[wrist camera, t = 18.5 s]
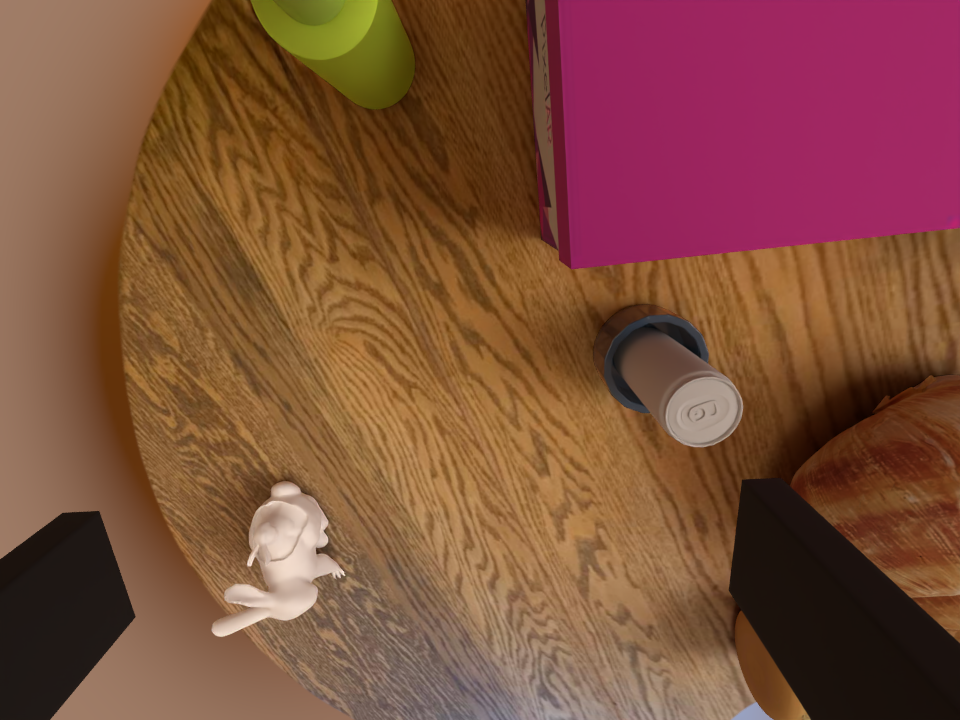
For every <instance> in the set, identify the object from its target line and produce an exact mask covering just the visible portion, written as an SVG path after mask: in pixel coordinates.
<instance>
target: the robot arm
mask: <svg viewBox="0 0 960 720" xmlns="http://www.w3.org/2000/svg"><path fill="white" fill-rule="evenodd" d="M729 592H730V593H731V595H732V596H733V598H734V600H735V601H736V603H737V604H738V606H739V607H740V609H741V611H742V612H743V614H744V615H745V617H746V618H747V620H748V622H749V623H750V625H751V626H752V628H753V629H754V631H755V633H756V634H757V636H758V637H759V639H760V640H761V642H762V644H763V645H764V647H765V648H766V650H767V651H768V653H769V654H770V656H771V658H772V659H773V661H774V662H775V664H776V665H777V667H778V669H779V670H780V672H781V673H782V675H783V676H784V678H785V680H786V681H787V683H788V684H789V686H790V687H791V689H792V691H793V692H794V694H795V695H796V697H797V698H798V700H799V702H800V703H801V705H802V706H803V708H804V709H805V711H806V713H807V714H808V716H809V717H810V719H811V720H960V643H959V642H958V641H957V640H956V639H955V638H954V637H953V636H952V635H951V634H950V633H948V632H947V631H946V630H945V629H944V628H943V627H942V626H941V625H940V624H939V623H938V622H937V621H935V620H934V619H933V618H932V617H931V616H930V615H929V614H928V613H927V612H926V611H925V610H923V609H922V608H921V607H920V606H919V605H918V604H917V603H916V602H915V601H914V600H913V599H912V598H910V597H909V596H908V595H907V594H906V593H905V592H904V591H903V590H902V589H901V588H900V587H899V586H897V585H896V584H895V583H894V582H893V581H892V580H891V579H890V578H889V577H888V576H887V575H886V574H884V573H883V572H882V571H881V570H880V569H879V568H878V567H877V566H876V565H875V564H874V563H873V562H871V561H870V560H869V559H868V558H867V557H866V556H865V555H864V554H863V553H862V552H861V551H860V550H858V549H857V548H856V547H855V546H854V545H853V544H852V543H851V542H850V541H849V540H848V539H846V538H845V537H844V536H843V535H842V534H841V533H840V532H839V531H838V530H837V529H836V528H835V527H833V526H832V525H831V524H830V523H829V522H828V521H827V520H826V519H825V518H824V517H823V516H822V515H820V514H819V513H818V512H817V511H816V510H815V509H814V508H813V507H812V506H811V505H810V504H809V503H807V502H806V501H805V500H804V499H803V498H802V497H801V496H800V495H799V494H798V493H797V492H796V491H794V490H793V489H792V488H791V487H790V486H789V485H788V484H787V483H786V482H785V481H784V480H783V479H781V478H767V479H746V480H742V485H741V493H740V502H739V510H738V518H737V527H736V535H735V543H734V552H733V560H732V568H731V576H730V585H729ZM134 618H135V614H134V611H133V608H132V605H131V602H130V599H129V596H128V593H127V590H126V588H125V585H124V582H123V579H122V576H121V573H120V570H119V567H118V564H117V561H116V558H115V556H114V553H113V550H112V547H111V544H110V541H109V538H108V535H107V532H106V529H105V527H104V523H103V521H102V518H101V515H100V512H99V511H91V512H72V513H62V514H61V515H59V516H58V517H57V518H55V519H54V520H53V521H51V522H50V523H48V524H47V525H46V526H44V527H43V528H42V529H40V530H39V531H38V532H36V533H35V534H34V535H32V536H31V537H30V538H28V539H27V540H26V541H24V542H23V543H22V544H20V545H19V546H18V547H16V548H15V549H14V550H12V551H11V552H9V553H8V554H7V555H6V556H4V557H3V558H1V559H0V720H50V719H51V718H52V717H53V716H54V714H55V713H56V712H57V711H58V710H59V708H60V707H61V706H62V705H63V704H64V702H65V701H66V700H67V699H68V698H69V696H70V695H71V694H72V693H73V692H74V690H75V689H76V688H77V687H78V686H79V684H80V683H81V682H82V681H83V679H84V678H85V677H86V676H87V675H88V674H89V672H90V671H91V670H92V669H93V668H94V666H95V665H96V664H97V663H98V662H99V660H100V659H101V658H102V657H103V656H104V654H105V653H106V652H107V651H108V649H109V648H110V647H111V646H112V645H113V643H114V642H115V641H116V640H117V639H118V637H119V636H120V635H121V634H122V633H123V631H124V630H125V629H126V628H127V626H128V625H129V624H130V623H131V622H132V621H133V619H134Z"/></svg>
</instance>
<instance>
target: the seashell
mask: <svg viewBox="0 0 960 720" xmlns="http://www.w3.org/2000/svg"><path fill="white" fill-rule="evenodd" d="M872 412H873V413H876V414H875V415H873V416H871V417H869V418H867V419H864V420H862V421H861V422H859V423H857V424H856V425H854V426H852V427H851V428H849V429H847V430H845V431H844V432H842V433H840V434H839V435H837V436H836V437H834V438H833V439H831V440H830V441H829V442H827V443H826V444H825V445H824V446H823V447H822V448H821V449H819V450H818V451H817V452H816V453H815V454H814V455H813V456H811V457H810V458H809V459H808V460H807V461H806V462H805V463H804V464H803V465H802V466H801V467H800V468H799V469H798V471H797V472H796V473H795V475H794V477H793V479H792V482H791V484H790V487H791V488H792V489H793V490H794V491H796V492H797V493H798V494H799V495H800V496H801V497H802V498H803V499H804V500H805V501H806V502H807V503H809V504H810V505H811V506H812V507H813V508H814V509H815V510H816V511H817V512H818V513H819V514H820V515H822V516H823V517H824V518H825V519H826V520H827V521H828V522H829V523H830V524H831V525H832V526H833V527H835V528H836V529H837V530H838V531H839V532H840V533H841V534H842V535H843V536H844V537H845V538H846V539H848V540H849V541H850V542H851V543H852V544H853V545H854V546H855V547H856V548H857V549H858V550H860V551H861V552H862V553H863V554H864V555H865V556H866V557H867V558H868V559H869V560H870V561H871V562H873V563H874V564H875V565H876V566H877V567H878V568H879V569H880V570H881V571H882V572H883V573H884V574H886V575H887V576H888V577H889V578H890V579H891V580H892V581H893V582H894V583H895V584H896V585H897V586H899V587H900V588H901V589H902V590H903V591H904V592H905V593H906V594H907V595H908V596H909V597H910V598H912V599H913V600H914V601H915V602H916V603H917V604H918V605H919V606H920V607H921V608H922V609H923V610H925V611H926V612H927V613H928V614H929V615H930V616H931V617H932V618H933V619H934V620H935V621H937V622H938V623H939V624H940V625H941V626H942V627H943V628H944V629H945V630H946V631H947V632H948V633H950V634H951V635H952V636H953V637H954V638H955V639H956V640H957V641H958V642H959V643H960V375H944V376H938V377H933V376H932V375H930V376H929V377H927V378H926V379H925V380H924V381H923V382H922V383H920V384H919V385H917V386H916V387H914V388H913V387H910V388H908V389H907V390H905V391H903V392H901V393H900V394H898V395H897V396H895V397H893V398H892V399H890V396H887V395H886V396H885V397H884V399H883V400H882V401H881V402H880V404H879V405H878V406H877V407H876V408H875V409H874V410H873V411H872Z"/></svg>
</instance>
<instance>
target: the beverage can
mask: <svg viewBox="0 0 960 720" xmlns="http://www.w3.org/2000/svg"><path fill="white" fill-rule="evenodd" d="M613 359H614V365H615V367H616V369H617V371H618V373H619V374H620V375H621V377H622V378H623V379H624V380H625V382H626V383H627V384H628V385H629V387H630V388H631V389H632V390H633V392H634V393H635V394H636V395H637V397H638V398H639V399H640V400H641V402H642V403H643V404H644V405H645V407H646V408H647V409H648V410H649V412H650V413H651V414H652V415H653V417H654V418H655V419H656V420H657V422H658V423H659V424H660V425H661V426H662V428H663V429H664V430H665V431H666V432H667V433H668V434H669V435H670V436H671V437H673V438H674V439H676V440H677V441H679V442H681V443H682V444H684V445H688V446H691V447H706V446H711V445H714V444H716V443H719V442H721V441H723V440H724V439H725V438H727V437H728V436H729V435H730V434H731V433H732V432H733V431H734V430H735V429H736V427H737V426H738V424H739V422H740V420H741V416H742V411H743V404H742V398H741V396H740V393H739V391H738V390H737V389H736V387H735V386H734V384H733V383H732V382H731V381H730V380H729V379H728V378H727V377H726V376H724V375H723V374H722V373H720V372H719V371H717V370H716V369H715V368H713V367H712V366H710V365H709V364H708V363H706V362H705V361H703V360H702V359H701V358H699V357H698V356H696V355H695V354H694V353H692V352H691V351H689V350H688V349H686V348H685V347H684V346H682V345H681V344H679V343H678V342H676V341H675V340H674V339H672V338H671V337H669V336H668V335H666V334H665V333H663V332H661V331H660V330H657V329H654V328H647V327H642V328H638V329H635V330H633V331H632V332H631V333H630V334H629V335H628V336H627V337H626V338H625V339H624V340H623V341H622V342H621V343H620V344H619V346H618V348H617V350H616V352H615V355H614V358H613Z"/></svg>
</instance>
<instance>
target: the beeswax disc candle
mask: <svg viewBox="0 0 960 720" xmlns="http://www.w3.org/2000/svg"><path fill="white" fill-rule="evenodd" d="M735 643H736V650H737V655H738V659H739V663H740V667H741V670H742V673H743V675H744V678H745V681H746V683H747V685H748V687H749V689H750V691H751V693H752V695H753V697H754V698H755V700H756V702H757V703H758V704H759V706H760V707H761V708H762V709H763V711H764V712H765V713H766V714H767V715H768V716H769V717H771V718H772V719H774V720H811V719H810V717H809V716H808V714H807V713H806V711H805V709H804V708H803V706H802V705H801V703H800V702H799V700H798V698H797V697H796V695H795V694H794V692H793V691H792V689H791V687H790V686H789V684H788V683H787V681H786V680H785V678H784V676H783V675H782V673H781V672H780V670H779V669H778V667H777V665H776V664H775V662H774V661H773V659H772V658H771V656H770V654H769V653H768V651H767V650H766V648H765V647H764V645H763V644H762V642H761V640H760V639H759V637H758V636H757V634H756V633H755V631H754V629H753V628H752V626H751V625H750V623H749V622H748V620H747V618H746V617H745V615H744V614H743V612H742V611H740V612H739V614H738V616H737V619H736V624H735Z"/></svg>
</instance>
